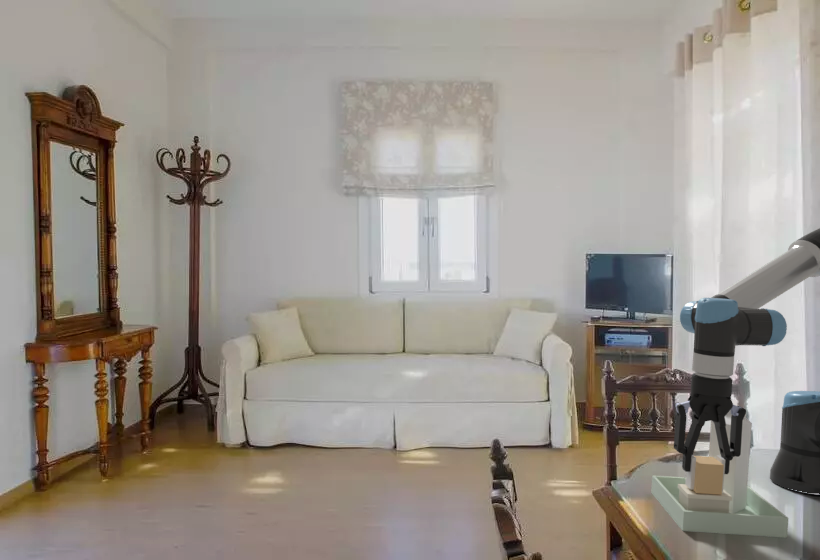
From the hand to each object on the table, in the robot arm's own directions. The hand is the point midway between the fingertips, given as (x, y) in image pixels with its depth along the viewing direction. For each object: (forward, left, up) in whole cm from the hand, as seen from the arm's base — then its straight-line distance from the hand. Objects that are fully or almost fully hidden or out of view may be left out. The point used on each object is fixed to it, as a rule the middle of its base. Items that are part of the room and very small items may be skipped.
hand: (704, 487), depth 131 cm
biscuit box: (0, 0, 0) cm, 0 cm away
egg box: (0, 0, -7) cm, 7 cm away
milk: (-9, -10, -8) cm, 15 cm away
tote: (-5, -6, -8) cm, 11 cm away
